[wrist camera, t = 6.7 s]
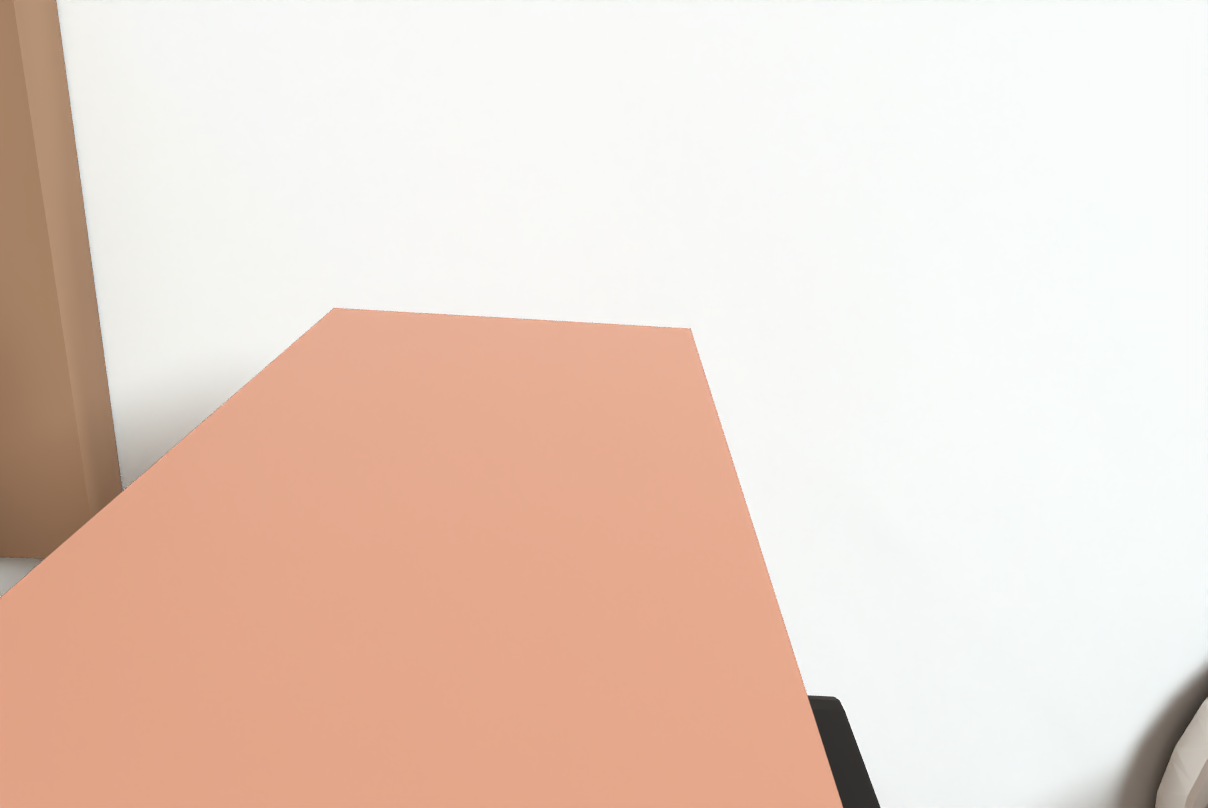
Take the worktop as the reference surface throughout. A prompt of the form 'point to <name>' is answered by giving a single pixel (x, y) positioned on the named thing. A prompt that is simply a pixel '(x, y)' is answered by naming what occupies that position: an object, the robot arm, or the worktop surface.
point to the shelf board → (46, 303)
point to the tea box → (421, 593)
